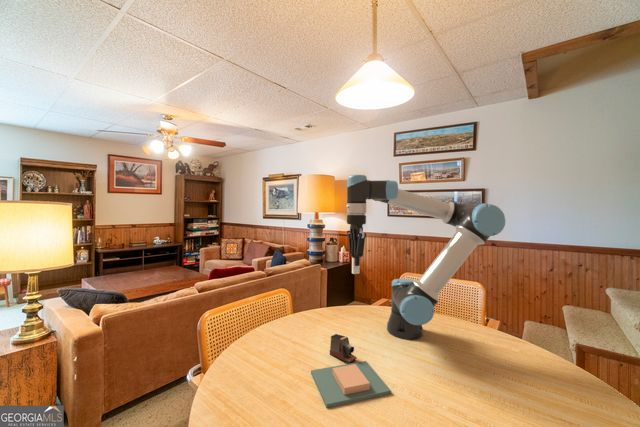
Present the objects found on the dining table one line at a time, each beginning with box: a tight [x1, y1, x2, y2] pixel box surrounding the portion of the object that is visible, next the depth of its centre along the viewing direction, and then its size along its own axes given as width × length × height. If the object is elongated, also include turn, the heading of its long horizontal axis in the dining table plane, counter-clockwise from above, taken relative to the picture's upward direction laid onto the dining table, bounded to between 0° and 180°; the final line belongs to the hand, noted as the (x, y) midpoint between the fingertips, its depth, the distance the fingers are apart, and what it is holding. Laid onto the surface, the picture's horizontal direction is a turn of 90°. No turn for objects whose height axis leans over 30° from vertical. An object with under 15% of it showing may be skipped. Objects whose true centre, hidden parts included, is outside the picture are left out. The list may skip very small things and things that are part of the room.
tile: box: [332, 364, 370, 395], centre depth 83 cm, size 8×2×10 cm
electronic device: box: [329, 333, 357, 364], centre depth 99 cm, size 4×10×8 cm, turn 45°
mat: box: [310, 360, 392, 409], centre depth 84 cm, size 20×16×1 cm
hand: (355, 273), depth 108 cm, fingers closed
